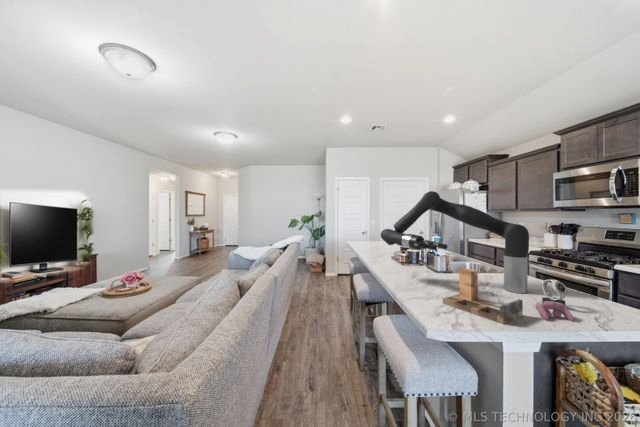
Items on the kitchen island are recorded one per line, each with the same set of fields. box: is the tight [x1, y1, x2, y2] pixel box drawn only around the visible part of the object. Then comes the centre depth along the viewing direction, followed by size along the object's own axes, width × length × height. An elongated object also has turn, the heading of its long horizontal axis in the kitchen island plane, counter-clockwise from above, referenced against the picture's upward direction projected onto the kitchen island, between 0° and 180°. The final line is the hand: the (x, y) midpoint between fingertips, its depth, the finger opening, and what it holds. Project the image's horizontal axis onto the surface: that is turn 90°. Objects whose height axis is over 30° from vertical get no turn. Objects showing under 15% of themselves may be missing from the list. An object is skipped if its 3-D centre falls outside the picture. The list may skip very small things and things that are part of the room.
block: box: [458, 268, 479, 301], centre depth 106 cm, size 5×5×12 cm
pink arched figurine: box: [534, 301, 575, 322], centre depth 90 cm, size 10×5×7 cm, turn 85°
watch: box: [541, 279, 568, 307], centre depth 100 cm, size 6×8×11 cm
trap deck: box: [442, 293, 524, 325], centre depth 98 cm, size 14×23×6 cm, turn 29°
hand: (441, 247), depth 116 cm, fingers open, 8 cm apart
